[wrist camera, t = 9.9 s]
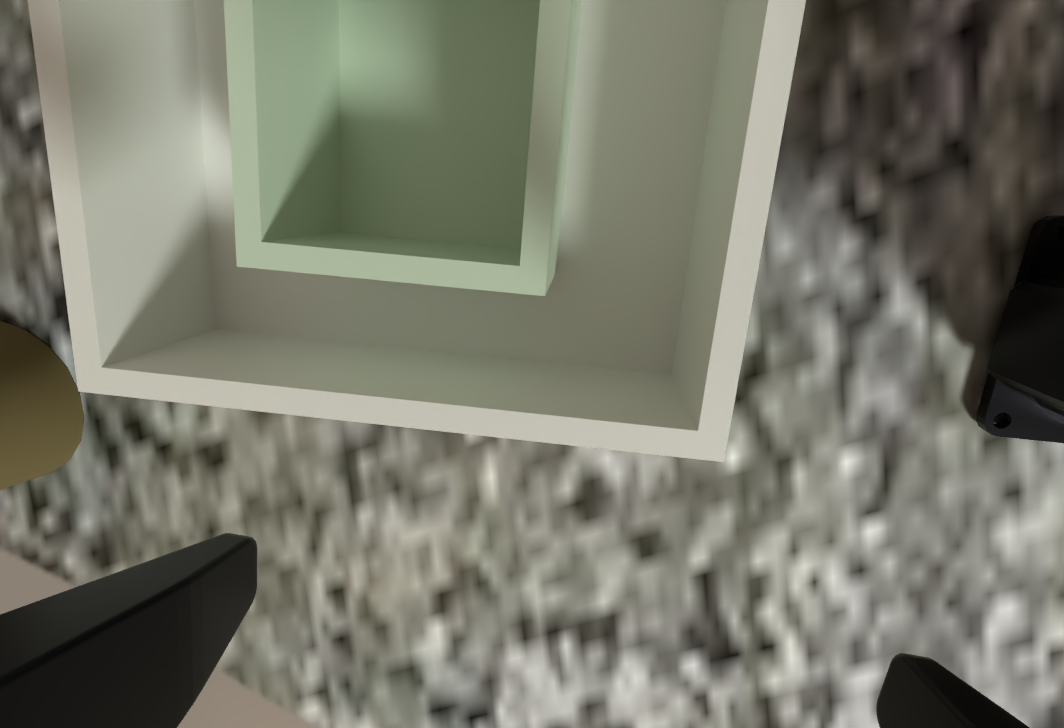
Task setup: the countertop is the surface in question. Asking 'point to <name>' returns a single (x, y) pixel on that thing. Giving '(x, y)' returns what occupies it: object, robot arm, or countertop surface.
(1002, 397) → the robot arm
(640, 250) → the white open box
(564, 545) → the countertop surface
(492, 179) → the sage crate
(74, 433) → the olive pepper shaker
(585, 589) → the countertop surface
